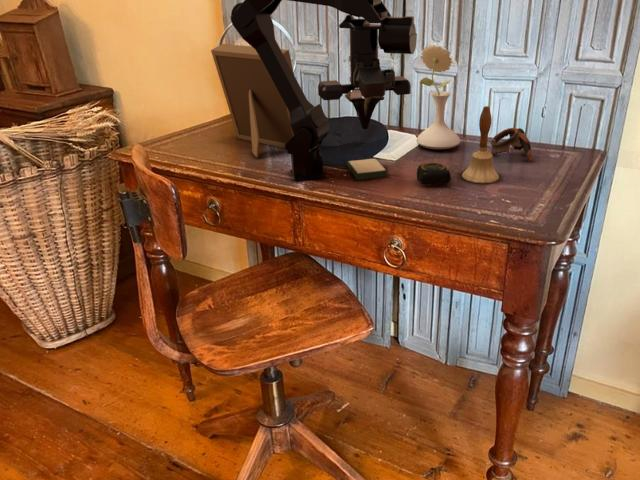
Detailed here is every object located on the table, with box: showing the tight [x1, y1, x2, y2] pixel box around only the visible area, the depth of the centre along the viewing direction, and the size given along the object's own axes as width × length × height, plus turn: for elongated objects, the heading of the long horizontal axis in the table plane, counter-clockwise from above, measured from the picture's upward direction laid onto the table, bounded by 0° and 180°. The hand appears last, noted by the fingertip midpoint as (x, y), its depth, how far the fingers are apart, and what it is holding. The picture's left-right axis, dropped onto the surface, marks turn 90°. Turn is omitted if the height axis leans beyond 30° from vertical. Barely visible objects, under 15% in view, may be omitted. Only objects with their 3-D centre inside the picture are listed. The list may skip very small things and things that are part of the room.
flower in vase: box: [416, 44, 461, 151], centre depth 145 cm, size 13×11×25 cm
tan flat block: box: [346, 158, 387, 181], centre depth 134 cm, size 7×9×2 cm
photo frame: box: [210, 43, 295, 158], centre depth 146 cm, size 15×22×25 cm
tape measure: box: [416, 162, 452, 187], centre depth 127 cm, size 7×7×4 cm
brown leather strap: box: [490, 127, 533, 163], centre depth 142 cm, size 12×10×8 cm
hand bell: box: [461, 105, 500, 184], centre depth 127 cm, size 8×8×16 cm
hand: (364, 128), depth 123 cm, fingers closed
